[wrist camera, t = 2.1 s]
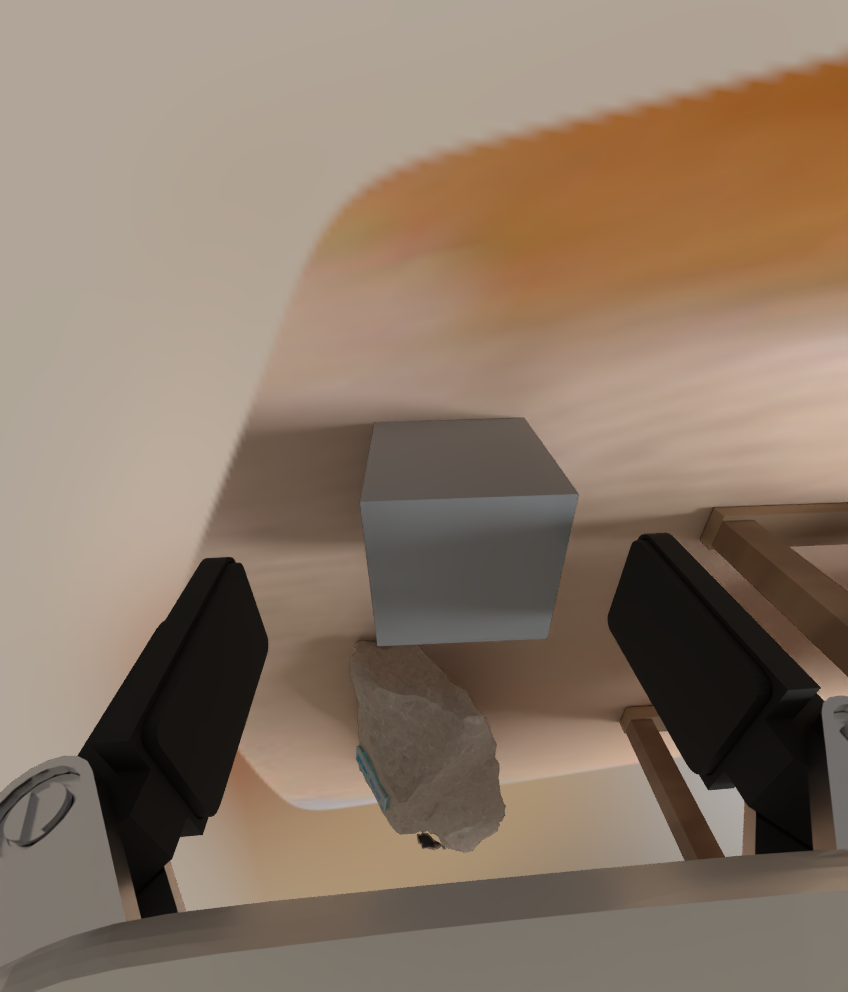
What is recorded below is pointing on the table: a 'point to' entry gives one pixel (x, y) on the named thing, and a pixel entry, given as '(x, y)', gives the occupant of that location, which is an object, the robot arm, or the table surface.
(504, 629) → the slate block
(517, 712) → the table surface
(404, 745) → the concrete fragment
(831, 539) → the frame
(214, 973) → the robot arm
